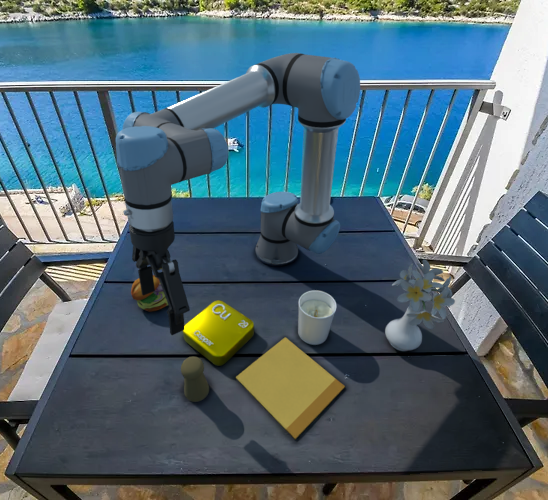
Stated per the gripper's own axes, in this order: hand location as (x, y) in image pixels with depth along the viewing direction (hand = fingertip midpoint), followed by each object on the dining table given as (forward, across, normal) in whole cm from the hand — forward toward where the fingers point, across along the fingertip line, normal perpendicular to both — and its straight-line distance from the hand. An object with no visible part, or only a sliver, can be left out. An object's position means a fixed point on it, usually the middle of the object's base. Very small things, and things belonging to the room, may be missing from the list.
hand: (162, 310), depth 72 cm
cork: (+25, +6, +4) cm, 26 cm away
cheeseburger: (+24, -28, +8) cm, 38 cm away
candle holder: (+22, +10, +39) cm, 45 cm away
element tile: (+23, -5, +17) cm, 29 cm away
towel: (+23, +18, +23) cm, 37 cm away
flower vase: (+20, +28, +55) cm, 65 cm away
